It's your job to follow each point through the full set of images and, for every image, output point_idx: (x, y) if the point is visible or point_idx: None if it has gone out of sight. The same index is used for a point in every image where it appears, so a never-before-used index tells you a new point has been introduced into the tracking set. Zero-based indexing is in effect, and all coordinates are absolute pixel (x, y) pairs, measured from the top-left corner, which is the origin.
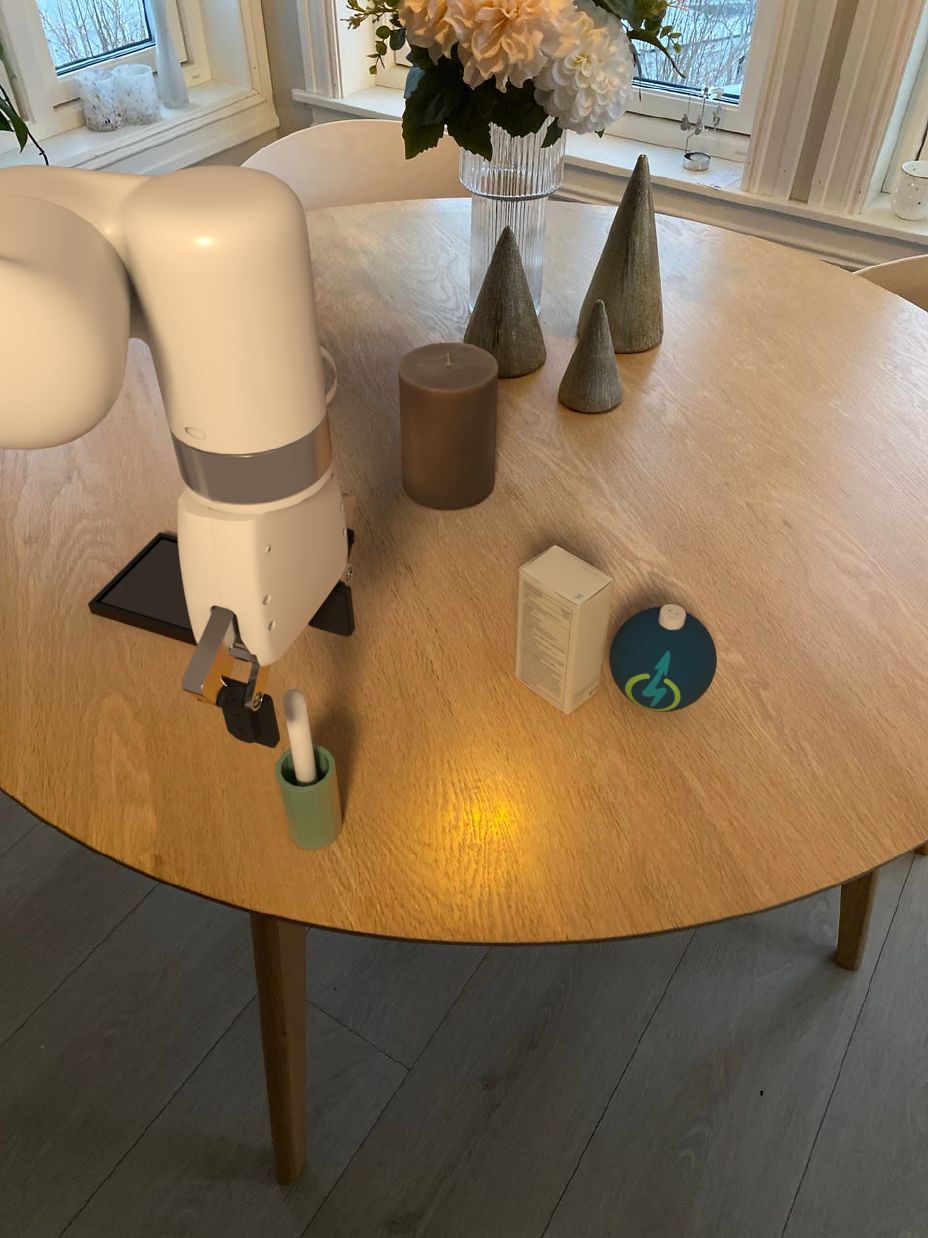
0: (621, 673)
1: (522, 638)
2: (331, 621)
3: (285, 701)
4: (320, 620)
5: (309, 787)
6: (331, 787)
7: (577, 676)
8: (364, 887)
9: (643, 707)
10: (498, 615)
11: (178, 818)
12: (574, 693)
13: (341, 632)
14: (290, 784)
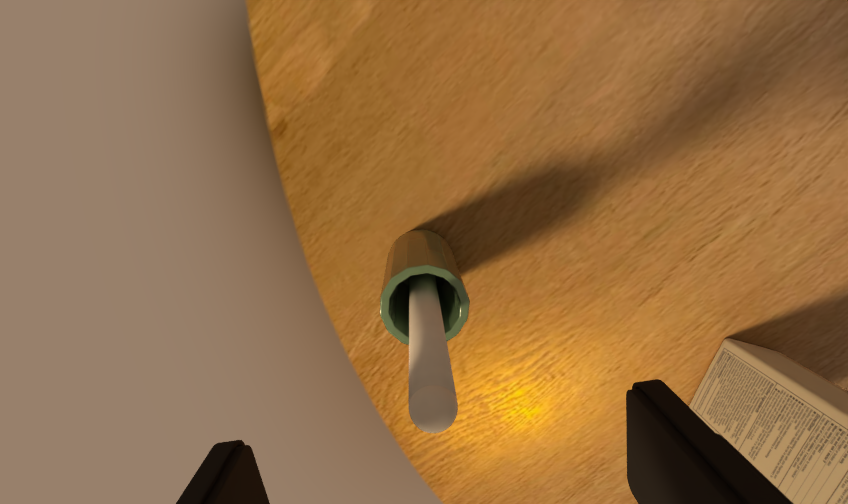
0: None
1: (787, 392)
2: (651, 486)
3: (413, 408)
4: (646, 447)
5: (398, 333)
6: None
7: None
8: (386, 346)
9: None
10: (830, 268)
11: (339, 106)
12: None
13: (633, 479)
14: (387, 310)
